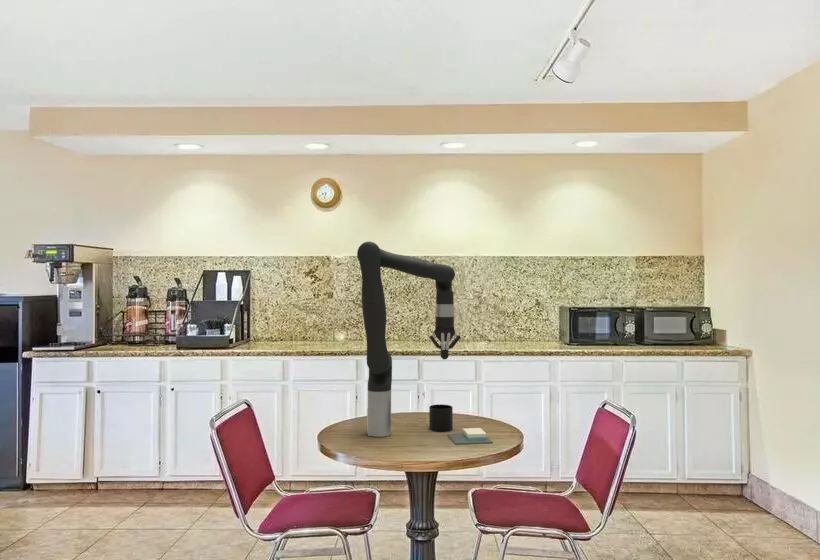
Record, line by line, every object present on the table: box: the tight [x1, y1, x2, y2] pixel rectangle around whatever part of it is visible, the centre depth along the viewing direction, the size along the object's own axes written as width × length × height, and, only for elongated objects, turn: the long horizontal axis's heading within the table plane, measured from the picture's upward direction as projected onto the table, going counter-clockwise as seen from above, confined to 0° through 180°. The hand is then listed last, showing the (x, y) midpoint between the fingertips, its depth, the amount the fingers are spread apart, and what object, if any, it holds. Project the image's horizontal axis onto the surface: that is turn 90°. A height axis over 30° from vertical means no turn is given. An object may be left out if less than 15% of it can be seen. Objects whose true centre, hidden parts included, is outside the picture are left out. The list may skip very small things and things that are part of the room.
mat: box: [446, 432, 494, 446], centre depth 208 cm, size 14×14×1 cm
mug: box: [428, 403, 454, 433], centre depth 225 cm, size 9×12×9 cm
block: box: [462, 427, 488, 441], centre depth 209 cm, size 2×9×7 cm
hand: (444, 359), depth 220 cm, fingers closed
